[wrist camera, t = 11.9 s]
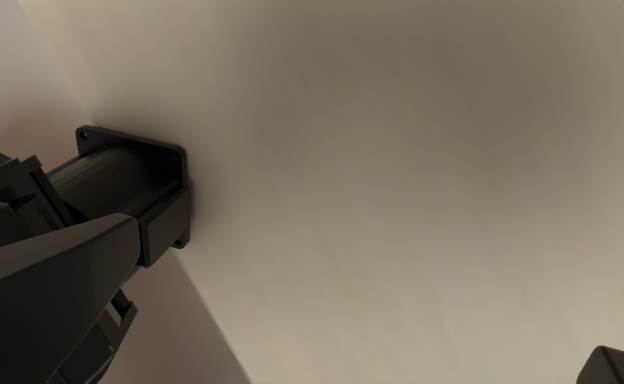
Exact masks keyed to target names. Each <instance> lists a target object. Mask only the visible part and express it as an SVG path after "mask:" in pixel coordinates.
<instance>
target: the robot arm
mask: <svg viewBox="0 0 624 384" xmlns="http://www.w3.org/2000/svg"><path fill="white" fill-rule="evenodd" d="M85 134H86V135H87V136H86V135H85ZM76 140H77V146H78V152H79V156H77V157H75V158H73V159H71V160H69V161H68V162H66V163H64V164H62V165H61V166H59V167H57V168H55V169H53V170H51V171H50V172H48V173H46V174H45V173H44V172H43V170H42V169H41V166H42V164H41V163H40V161H39V160H38V158H37V157H36V155H33V156H31V157H28V158H26V159H23V160H21V161H19V160H18V158H15V159H11V158H9V157H7V156H5V155H3V154H1V153H0V384H97V383H98V381H99V380H100V379H101V378H102V377H103V375H104V374H105V372H106V371H107V369H108V367H109V365H110V363H111V361H112V360H113V358H114V356H115V354H116V352H117V350H118V348H119V346H120V344H121V342H122V341H123V339H124V337H125V335H126V333H127V331H128V329H129V327H130V325H131V323H132V321H133V320H134V317H135V316H136V314H137V312H138V309H137V308H136V306H135V305H134V303H133V302H132V301H129V300H128V298H127V296H126V295H125V293H124V292H123V290H122V289H121V287H122V286H123V285H124V284H125V283H126V282H127V281H128V280H129V279H130V278H131V277H132V276H133V275H134V274H135V273H136V272H137V271H138V270H139V269H140V268H141V267H144V268H149V267H150V266H152V265H153V264H154V263H155V262H156V261H157V260H158V259H159V258H160V257H161V256H162V255H163V254H164V252H165V251H166V250H167V249H168V248H169V247H174V248H177V249H182V248H184V247H185V246H186V245H187V244H188V242H189V233H188V228H189V227H190V205H189V189H188V187H187V176H186V155H185V152H184V151H183V150H182V149H181V148H180V147H178V146H174V145H170V144H166V143H161V142H157V141H153V140H149V139H144V138H140V137H136V136H131V135H127V134H123V133H119V132H114V131H110V130H106V129H101V128H97V127H93V126H88V125H83V126H81V127H79V128H77V130H76ZM173 153H174V154H176V156H177V158H178V159H176V158H175V157H174V155H173ZM178 239H180V240H181V241H179V240H178ZM576 384H624V351H621V350H618V349H614V348H610V347H607V346H598V347H596V348H595V349H594V350H593V352H592V354H591V355H590V357H589V359H588V360H587V362H586V364H585V365H584V367H583V369H582V370H581V372H580V374H579V375H578V378H577V382H576Z"/></svg>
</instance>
